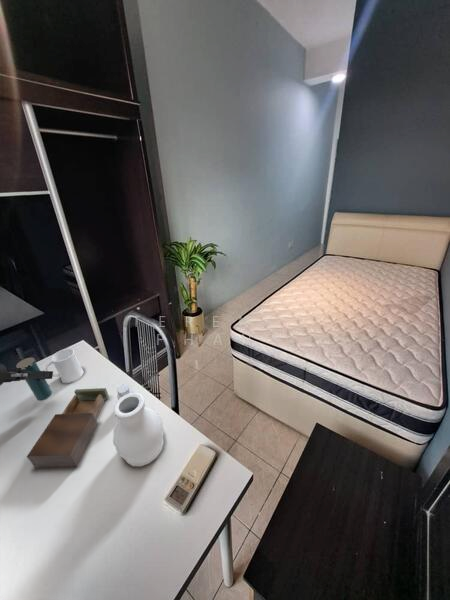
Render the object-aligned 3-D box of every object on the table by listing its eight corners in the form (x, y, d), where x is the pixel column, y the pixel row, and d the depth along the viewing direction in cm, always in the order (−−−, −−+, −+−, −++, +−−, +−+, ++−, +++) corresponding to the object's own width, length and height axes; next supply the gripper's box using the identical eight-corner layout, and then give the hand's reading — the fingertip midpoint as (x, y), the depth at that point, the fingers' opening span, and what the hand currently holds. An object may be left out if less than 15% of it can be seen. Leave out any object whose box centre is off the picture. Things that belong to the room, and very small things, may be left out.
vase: (138, 482, 68) (120, 439, 59) (111, 452, 76) (90, 409, 67) (176, 441, 78) (165, 398, 69) (148, 418, 86) (135, 377, 77)
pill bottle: (129, 397, 95) (124, 380, 91) (139, 402, 92) (133, 385, 88) (118, 407, 91) (111, 390, 87) (127, 413, 88) (121, 396, 84)
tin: (36, 394, 92) (16, 361, 84) (52, 387, 94) (34, 355, 86) (36, 403, 88) (15, 370, 80) (52, 396, 90) (34, 363, 83)
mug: (52, 390, 100) (40, 368, 94) (53, 376, 107) (42, 355, 101) (84, 378, 105) (74, 356, 99) (83, 366, 111) (74, 345, 106)
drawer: (81, 395, 96) (77, 386, 93) (110, 394, 95) (107, 385, 93) (61, 428, 84) (55, 419, 81) (94, 427, 83) (89, 418, 81)
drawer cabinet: (62, 426, 85) (55, 414, 82) (98, 425, 85) (92, 412, 82) (36, 469, 73) (26, 456, 70) (77, 467, 73) (70, 454, 70)
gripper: (-52, 391, 68) (18, 387, 90) (11, 388, 68) (66, 385, 90) (-45, 363, 70) (22, 366, 93) (16, 360, 70) (69, 363, 92)
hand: (44, 375), depth 91 cm, fingers closed on tin, 5 cm apart
